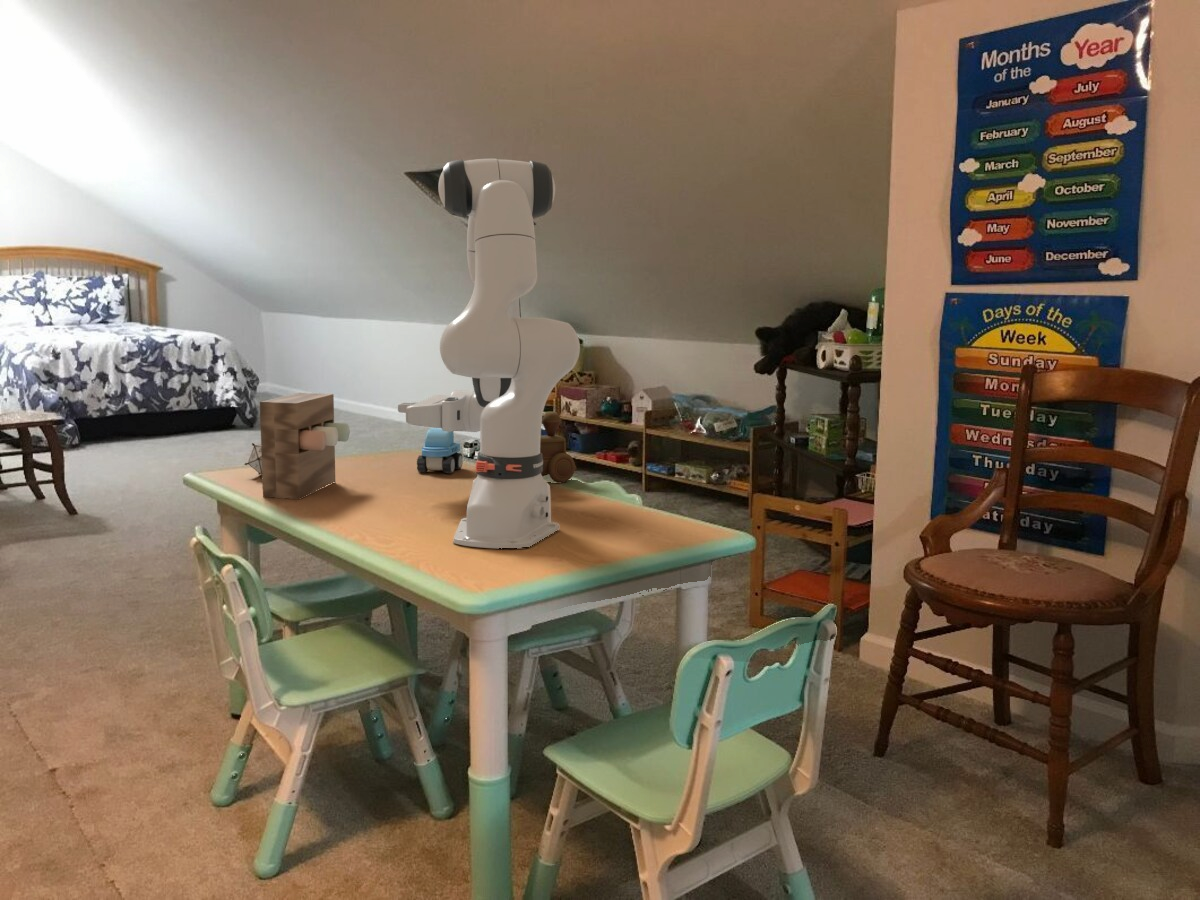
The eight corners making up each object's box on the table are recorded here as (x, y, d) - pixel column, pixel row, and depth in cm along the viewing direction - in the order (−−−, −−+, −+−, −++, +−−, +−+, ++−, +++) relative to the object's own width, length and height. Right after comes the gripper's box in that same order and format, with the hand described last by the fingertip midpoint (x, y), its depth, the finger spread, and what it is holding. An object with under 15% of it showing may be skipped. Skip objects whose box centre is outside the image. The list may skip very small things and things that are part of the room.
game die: (267, 490, 229) (277, 452, 233) (288, 482, 224) (298, 443, 228) (233, 475, 223) (244, 436, 227) (254, 466, 218) (265, 427, 222)
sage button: (349, 440, 217) (349, 422, 217) (342, 442, 213) (341, 424, 213) (324, 438, 218) (323, 421, 218) (316, 441, 214) (315, 423, 214)
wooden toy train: (503, 490, 217) (503, 415, 214) (480, 481, 226) (480, 409, 224) (580, 482, 228) (581, 411, 225) (555, 473, 237) (556, 405, 234)
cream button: (338, 444, 212) (338, 426, 211) (330, 447, 208) (330, 428, 207) (312, 443, 212) (311, 424, 212) (303, 445, 209) (303, 427, 208)
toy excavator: (471, 463, 248) (471, 396, 245) (449, 476, 232) (449, 403, 229) (438, 462, 249) (438, 394, 246) (415, 474, 233) (414, 402, 230)
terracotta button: (326, 448, 206) (326, 429, 205) (318, 451, 202) (317, 432, 201) (299, 447, 207) (299, 428, 206) (290, 450, 203) (290, 431, 202)
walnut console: (335, 482, 221) (333, 394, 217) (299, 499, 203) (296, 403, 200) (301, 480, 222) (299, 392, 218) (263, 497, 204) (259, 401, 201)
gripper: (475, 390, 221) (416, 387, 223) (447, 402, 201) (382, 399, 203) (475, 417, 222) (416, 414, 224) (447, 433, 202) (383, 429, 204)
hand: (400, 407), depth 214 cm, fingers closed
